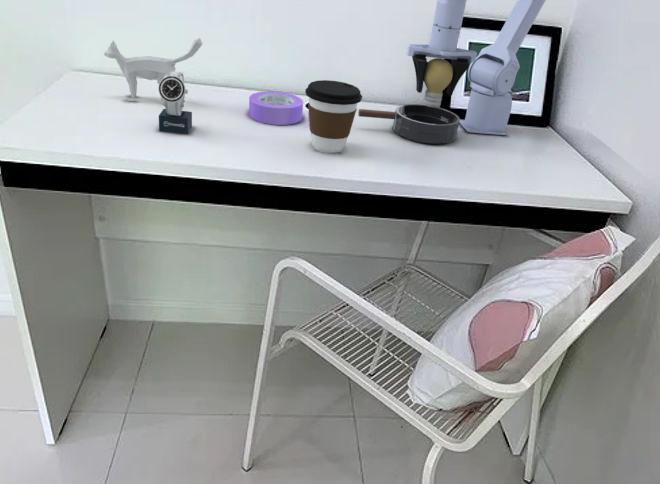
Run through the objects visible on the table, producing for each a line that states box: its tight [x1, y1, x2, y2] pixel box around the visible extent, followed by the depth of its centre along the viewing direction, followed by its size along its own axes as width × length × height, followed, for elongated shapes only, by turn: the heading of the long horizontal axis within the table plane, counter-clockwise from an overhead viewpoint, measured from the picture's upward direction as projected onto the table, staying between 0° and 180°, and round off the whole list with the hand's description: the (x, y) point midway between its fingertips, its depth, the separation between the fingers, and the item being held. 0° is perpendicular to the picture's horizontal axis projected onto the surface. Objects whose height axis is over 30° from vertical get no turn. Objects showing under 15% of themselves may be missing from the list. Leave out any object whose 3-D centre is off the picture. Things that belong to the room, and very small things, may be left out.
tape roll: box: [248, 90, 304, 126], centre depth 139 cm, size 12×12×4 cm
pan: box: [392, 103, 461, 145], centre depth 141 cm, size 14×14×4 cm
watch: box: [157, 71, 193, 135], centre depth 123 cm, size 6×8×11 cm
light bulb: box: [423, 58, 453, 108], centre depth 135 cm, size 6×6×10 cm
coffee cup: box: [304, 79, 363, 154], centre depth 124 cm, size 11×11×12 cm
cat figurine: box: [103, 37, 203, 102], centre depth 135 cm, size 4×20×14 cm, turn 97°
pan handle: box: [357, 108, 396, 120], centre depth 138 cm, size 8×2×2 cm, turn 97°
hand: (433, 92), depth 136 cm, fingers closed on light bulb, 6 cm apart
